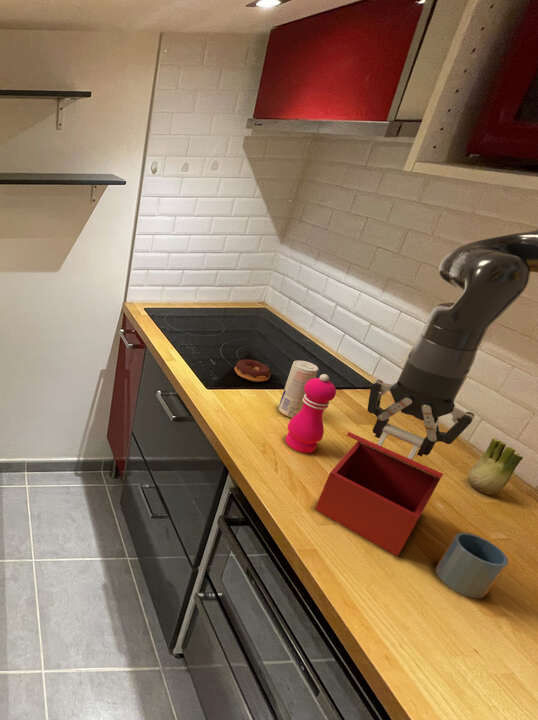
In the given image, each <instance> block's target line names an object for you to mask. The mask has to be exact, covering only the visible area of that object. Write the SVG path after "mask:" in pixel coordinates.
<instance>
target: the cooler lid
mask: <svg viewBox="0 0 538 720" xmlns="http://www.w3.org/2000/svg"><path fill="white" fill-rule="evenodd" d="M346 436H347V437H348V438H350V439H353V440H355V441H356V442H357V441H359V442H361V443H363V444H365V445H367V446H370V447H372V448H374V449H376V450H378V451H381V452H383V453H385V454H387V455H389V456H392V457H394V458H396V459H398V460H401V461H403V462H405V463H407V464H409V465H412V466H414V467H416V468H418V469H420V470H423V471H425V472H427V473H429V474H432V475H434V476H436V477H438V478H440V479H442V477H443V475H444V473H443V472H440V471H438V470H435V469H433V468H431V467H429V466H426V465H425V464H422V463H420V462H418V461H416V460H414V458H415V456H416V455H417V453H418V451H419V449H420V447H421V445H422V443H423V441H424V439H425V438H426V437H422V436H420V435H417V434H415V433H413V432H411V431H408V430H405V429H403V428H400V427H398V426H395V425H393V424H391V423H389V422H388V423H387V424H386V425H385V427H384V429H383V433H382V435H381V437H380V438H378V441H377V443H375V442H373V441H370V440H368V439H366V438H364V437H361V436H359V435H357V434H354V433H352V432H350V431H348V432H347V434H346ZM388 436H392V437H393V438H396V439H399V440H401V441H404V442H406V443H408V444H411V445H412V448H411V449H410V451H409V454H407V455H408V456H407V457H406V456H405V455H403V454H400V453H398V452H395V451H393V450H391V449H389V448H386V447H385V446H384V447H383V444H384V443H385V441H386V440H387V437H388Z"/></svg>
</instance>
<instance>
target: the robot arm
mask: <svg viewBox="0 0 538 720" xmlns="http://www.w3.org/2000/svg"><path fill="white" fill-rule="evenodd" d="M438 273H439V276H440V278H441V279H442V280H443V281H444V282H445V283H447V284H448V285H450V286H452V287H454V288H455V289H459V290H460V291H461V290H462V291H463V292H462V294H461V296H459V298H458V299H457V301H456V302H443V303H439V304H438V305H436V306H434V307H433V309H432V311H431V312H430V314H429V315H428V317H427V320H426V322H425V324H424V327H423V329H422V331H421V333H420V334H419V337H418V338H417V339H416V341H415V343H414V344H413V346H412V348H411V350H410V351H409V353H408V356H407V357H408V358H407V359H406V361H405V364H404V366H403V368H402V371H401V373H400V375H399V377H398V380H397V381H396V382H395V383H393V384H391V383H386V382H383V381H382V380H381V379H376V380H375V381H374V382H373V383H372V384H371V385H370V390H369V395H368V396H369V398H368V403H367V412H368V413H369V414H373V415H374V416H376V418H377V419H376V421H375V424H374V426H373V428H372V433H373V434H374V438H377V439H380V437H381V435H382V433H383V429H384V427H385V425H386V424H387V423H388V424H389V421H390V418H391V417H393V416H395V415H396V414H398V413H399V412H400V413H402V414H405V415H407V416H412V417H414V418H416V419H418V420H420V421H423V425H424V428H425V432H426V437H424V438H425V439H424V441H423V443H422V445H421V447H419V449H418V450H417V452H416V456H418V457H423V455H424V456H429V455H430V454H431V452H432V451H433V449H434V447H435V445H436V443H438V442H439V443H444V444H445V445H451V444H452V443H454V442H455V440H457V438H458V437H460V435H461V434H462V433H463V432H464V431H465V430H466V429H467V428H468V427H469V426H470V425H471V424H472V422H473V421H474V419H475V414H474V413H473V412H470V411H466V412H465V411H463V410H461V409H459V408H457V407H456V405H455V399H456V397H457V396H458V393H459V391H460V390H461V387H462V386H463V384H464V383H465V380H466V378H467V376H468V374H469V373H470V371H471V368H472V367H473V364H474V362H475V359H476V355H477V352H478V351H479V347H481V344H482V343H483V340H484V339H485V337H486V335H487V333H488V330H489V328H490V326H491V325H493V323H495V322H496V320H497V319H499V318H500V317H501V316H502V315H503V314H504V313H506V311H507V310H508V309H509V308H510V307H511V306H512V305H513V304H514V303H515V302H516V301H517V300H518V299H519V298H520V297H521V295H522V294H523V293H524V292H525V291H526V289H527V288H528V285H529V283H530V279H531V273H537V274H538V229H535V230H531V231H525V232H524V231H523V232H518V233H511V234H506V235H500V236H494V237H489V238H485V239H481V240H480V239H479V240H475V241H472V242H469V243H466V244H464V245H461V246H459V247H457V248H454V249H453V250H451V251H450V252H449V253H447V254H446V255H445V256H444V258H442V259H441V261H440V263H439V266H438ZM497 321H498V320H497ZM387 392H390V394H391V396H392V399H393V401H394V402H393V403H392V404H390V405H389V406H388V407H386V408H385V409H383V408H382V407H381V406H380V405H381V399H382V396H384V395H385V394H386V393H387ZM449 414H450V415H452V419H451V420H452V422H453V423H454V424H453V425H452V426H451V427H450V428H449V429H448V430H447V431H446V432H444V431H440V417H444V416H446V415H449Z"/></svg>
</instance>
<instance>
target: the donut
mask: <svg viewBox="0 0 538 720" xmlns="http://www.w3.org/2000/svg"><path fill="white" fill-rule="evenodd" d="M234 371H235V373H236V375H237V376H239V377H240V378H241V379H243V380H247V381H248V382H253V383H254V382H255V383H261V382H266V381H268V380H269V379H270V377H271V374H272V371H271V368H270V367H269V366H268V365H266V364H264V363H262V362H260V361H259V360H256V359H255V360H254V359H240V360H238V361H237V362H236V364H235V366H234Z"/></svg>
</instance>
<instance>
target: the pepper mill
mask: <svg viewBox="0 0 538 720" xmlns="http://www.w3.org/2000/svg"><path fill="white" fill-rule="evenodd" d="M304 391H305V393H306V394H305V395H304V398H303V402H304V404H303V407H302V409H301V410H300V412H299V413H298V414H296V415H295V416H294V417H293V418H292V417H291V419H289V421H288V423H287V430H288V432H287V433H286V437H285V443H286V444H287V445H288V446H289V447H290V448H291V449H293V450H295V451H298V452H300V453H303V454H304V453H305V454H311V453H313V452H315V450H316V449H317V446H318V442H320V441H322V440H323V437H324V433H325V428H324V427H325V426H324V423H323V415H324V412H325V410H326V409H328V408H329V405H330V402H331V401H332V400H334V399H335V397H336V395H337V388H336V387H335V385H334V384H333V382H331V381H330V377H329V375H328V374H326V373H323V374H320V376H319V377H315V378H313V379H310V380H309V381H308V382H307V383H306V384H305V386H304Z"/></svg>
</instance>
